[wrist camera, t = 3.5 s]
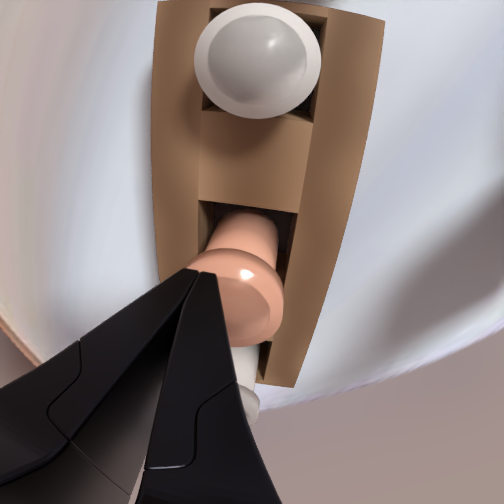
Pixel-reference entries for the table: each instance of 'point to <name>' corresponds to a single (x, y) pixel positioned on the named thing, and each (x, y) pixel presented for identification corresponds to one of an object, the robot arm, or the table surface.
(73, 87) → the table surface
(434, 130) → the table surface
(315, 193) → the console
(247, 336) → the terracotta plug middle
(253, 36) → the grey plug
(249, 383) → the grey plug
